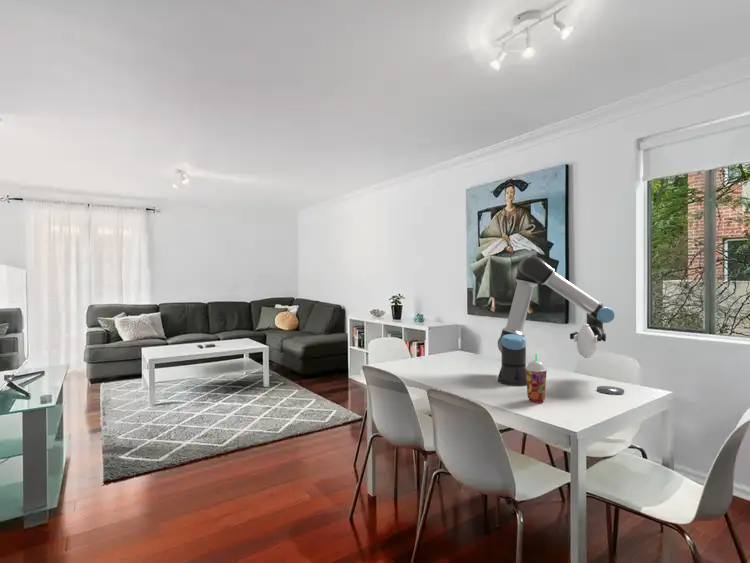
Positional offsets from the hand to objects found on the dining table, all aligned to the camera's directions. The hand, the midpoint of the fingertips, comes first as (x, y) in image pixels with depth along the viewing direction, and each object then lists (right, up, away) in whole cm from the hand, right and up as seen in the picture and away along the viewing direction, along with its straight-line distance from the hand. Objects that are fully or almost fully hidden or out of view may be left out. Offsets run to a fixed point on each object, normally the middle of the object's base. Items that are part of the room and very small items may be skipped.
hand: (584, 339), depth 193 cm
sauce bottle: (+3, -9, +4) cm, 10 cm away
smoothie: (-27, -25, -13) cm, 39 cm away
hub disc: (+14, -24, +3) cm, 28 cm away
